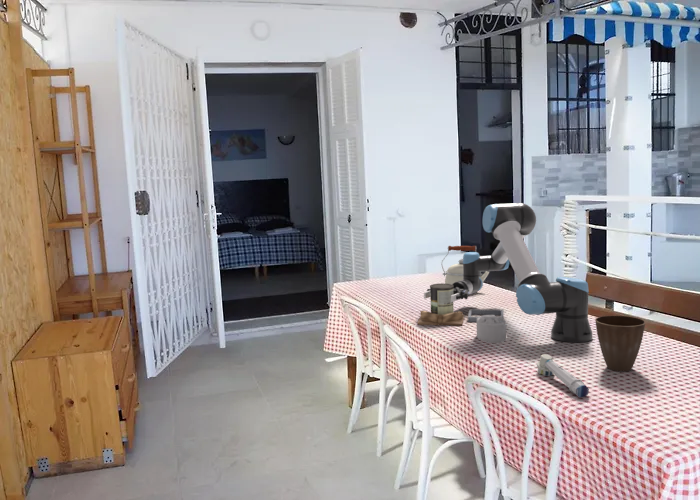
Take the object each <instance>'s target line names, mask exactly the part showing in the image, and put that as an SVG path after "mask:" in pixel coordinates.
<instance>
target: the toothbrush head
mask: <svg viewBox="0 0 700 500" xmlns="http://www.w3.org/2000/svg"><path fill="white" fill-rule="evenodd" d="M536 368H537V373H538V374H539V375H543V376H545V377H546V376H547V377H549V376H550V377H551V376H553V375H554V376H555V377H556V378H557V379H559V380H560V381H561V383H563V384H564V385H565V386H566V387H567V388H568V390H569V391H570V392H571V393H572V394H574V395H576V396H577V397H578V398H584V397H587V396H589V392H590V391H589V390H590V389H589V387H588V386H587V385H586V384H585V383H584V381H583V380H581V379H580V378H577V377H575V376H574V375H573V374H572V373H570V372H569V371H567V370H566V369H565V368H563V367H562V366H560V365H559V364H558V363H557V362H555V361H554V360H553V356H552V355H550V354H547V353H546V354H545V353H544V354H541V356H540V358H539V361H537V362H536Z"/></svg>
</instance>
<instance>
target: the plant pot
mask: <svg viewBox="0 0 700 500" xmlns="http://www.w3.org/2000/svg"><path fill="white" fill-rule="evenodd" d="M594 321H595V326H596V334H597V339H598V343H599V347H600V352H601V354H602V357H603V360H604V362H605V365H606V367H607V369H608V370H611V371H615V372H630V371H631V370H632V369H633V367H634V364H635V362H636V360H637V358H638V355H639V351H640V348H641V345H642V342H643V338H644V334H645V333H644V332H645V327H646V321H645V320H644V319H642V318H639V317H635V316H628V315H602V316H598V317H596V318H595V319H594Z"/></svg>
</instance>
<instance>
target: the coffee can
mask: <svg viewBox="0 0 700 500" xmlns="http://www.w3.org/2000/svg"><path fill="white" fill-rule="evenodd" d="M453 287H454V286H453V285H452V284H445V282H443V283H442V282H441V283H432V284H431V285H429V289H430V297H429V298H430V312H431V313H434V314H438V315H439V314H441V315H443V314H448V313H453V312H454V302H451V295H453Z"/></svg>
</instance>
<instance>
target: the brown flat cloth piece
mask: <svg viewBox="0 0 700 500" xmlns="http://www.w3.org/2000/svg"><path fill="white" fill-rule="evenodd" d="M463 312H464V311H460V310H459V311H458V310H457V311H455V312H453V313H448V314H443V315H441V314H439V315H438V314H434V313H431V311H427V310H420V313H419V314H420V317H419V319H418V321H417V323H416V324H418V325H419V326H446V325H451V326H450V327H452V326H453V327H455V326H456V327H463V324H464V321H465V314H463Z"/></svg>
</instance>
